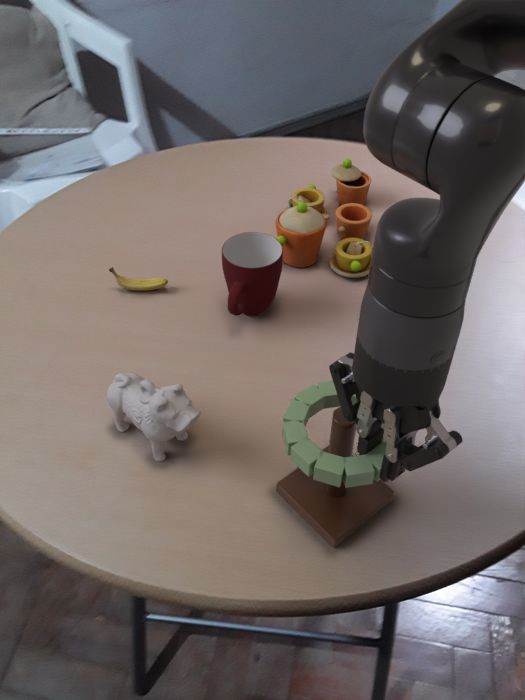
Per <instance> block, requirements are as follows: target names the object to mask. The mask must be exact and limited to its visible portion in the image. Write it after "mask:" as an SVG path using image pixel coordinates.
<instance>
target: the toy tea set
mask: <svg viewBox="0 0 525 700" xmlns="http://www.w3.org/2000/svg"><path fill="white" fill-rule="evenodd" d="M330 174H331V176H332V177H333V179H335V180H336V195H337V201H338V204H340V205H339V206H338V207H337V208H336V210H335V219H336V232H337V236H339V237H340V238H341V239H340V240H339V241H338V242H337V243H335V252H334V253H333V254H332V255H331V257H330V258H329V267H330V268H331V270H332V271H333V272H334V273H336V275H339V276H341V277H345V278H349V279H356V278H364V277H366V276H369V270H370V264H371V257H372V250H373V245H372V243H371V242H370V241H368V240H365V238H366V236H367V234H368V230H369V227H370V224H371V221H372V218H373V212H372V210H371V208H369V207H368V206H366V205H365V203H366V200H367V196H368V193H369V190H370V188H371V183H372V178H371V176H370V175H369V174H368V173H367V172H365V171H362V170H360V168H359V167H357V166H356V165H354V164H353V162H352V160H351V159H350V158H345V159H343V161H342V163H339V164H337V165H335V166H334V167H332V169H331V171H330ZM325 198H326V197H325V194H324V193H323V192H322V191H321V190H320V189H317V186H315V185H314V184H309V185H308V186H307V187H301V188H298V189H296V190H295V191H293V192H292V194H291V196H290V198H289V200H288V206H287V207H286V209H284V210H283V211H281V212H280V213H279V214H278V215H277V216H276V218H275V228H276V235H277V236H276V238H275V239H277V240H278V241H279V242H280V244H281V245H282V249H283V263H284V264H286V265H288V266H291V267H293V268H306V267H309V266H312V265H314V263H316V262H317V260H318V258H319V255H320V252H321V247H322V244H323V239H324V236H325V231H326V228H327V220H329V218H330V215H329V214H327V212H328V211H327V208H326V207H325V205H324V202H325Z"/></svg>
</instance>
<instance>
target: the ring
mask: <svg viewBox="0 0 525 700" xmlns="http://www.w3.org/2000/svg"><path fill="white" fill-rule="evenodd" d="M351 401H352V404H353V405H354V404H355V403H356V402H357V398H356V395H355V394H354V395H353V396H352V397H351ZM339 407H341V405H340V402H339V399H338V395H337V392H336V389H335V386H334V383H333V379H331V380H325V381H318V382H317V384H316V385H315V384H314V383H313V384H311V385H309V386H307V387H306V388H304V389H303V390H302V391H300V392H298V393H296V394H295V395H294V396H293V399H290V402H289V404H288V406H287V408H286V410H285V413H284V415H283V417H282V433H281V434H282V440H283V444H284V447H285V451H286V454H287V456H288V457H289V456H290V458H289V459H290V461H291V462H292V463H293V464H294V465H295V466H296V467H297V468H298V467H299V468H300V469H301V470H302V471H303V472H304V473H305V474H306V475H307V476H308V477H309V476H310V475H312V474H313V473H314V476H313V480H316V481H320V482H323V483H327V484H330V485H333V486H337V487H340V486H341V483H342V480H343V481H344V485H345V488H348V487H355V486H361V485H368V484H372V483H373V479H375V480H376V481H377V482H378V481H379V480H380V472H381V465H382V461H383V456H384V455H385V452H386V442H385V441H384V440H383V439H382V443H381V444H379V445H378V446H377V447H375V448H374V449H373V450H371V451H370V452H369V453H367V454H366V455H359V454H358V455H353V456H352V457H345V458H344V457H341V456H337V455H334V454H330V453H327V452H323V451H322V450H323V449H321V448H320V447H319V446H318V445H317V444H316V443H315V442H313V441H312V440H311V439H310V438H309V435H308V433H307V432H308V431H307V429H306V427H307V424H308V421H309V419H311V418H312V417H314V416H315V415H316V414H318V413H319V412H321V411H322V410H325V409H332V408H339ZM381 428H383V429H384V424H383V425H382V426H381ZM383 435H384V434H383Z"/></svg>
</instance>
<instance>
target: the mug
mask: <svg viewBox="0 0 525 700" xmlns="http://www.w3.org/2000/svg"><path fill="white" fill-rule="evenodd" d="M221 247H222V248H221V268H222V273H223V276H224V281H225V284H226V287H227V291H228V297H227V311H228V312H229V313H230V315H233V316H240V315H245V316H249V317H257V316H260V315H263V314H264V313H265V312H266V311H267V310H268V308H269V307H270V306H271V304H272V303H273V302H274V300H275V298H276V295H277V291H278V288H279V285H280V284H279V283H280V279H281V275H282V271H283V265H284V261H283V249H282V245H281V244H280V242H279V241H278V240H277V239H276V238H275V237H274V236H272V235H271V234H267V233H263V232H259V231H258V232H257V231H246V232H240V233H237V234H234V235H233V236H231V237H229V238H227V240H226V241H224V243H223V245H222V246H221Z"/></svg>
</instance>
